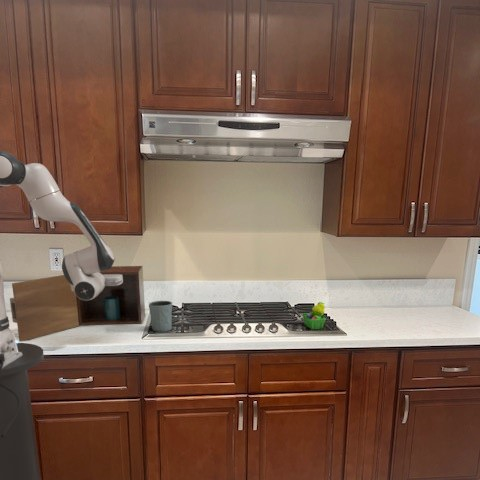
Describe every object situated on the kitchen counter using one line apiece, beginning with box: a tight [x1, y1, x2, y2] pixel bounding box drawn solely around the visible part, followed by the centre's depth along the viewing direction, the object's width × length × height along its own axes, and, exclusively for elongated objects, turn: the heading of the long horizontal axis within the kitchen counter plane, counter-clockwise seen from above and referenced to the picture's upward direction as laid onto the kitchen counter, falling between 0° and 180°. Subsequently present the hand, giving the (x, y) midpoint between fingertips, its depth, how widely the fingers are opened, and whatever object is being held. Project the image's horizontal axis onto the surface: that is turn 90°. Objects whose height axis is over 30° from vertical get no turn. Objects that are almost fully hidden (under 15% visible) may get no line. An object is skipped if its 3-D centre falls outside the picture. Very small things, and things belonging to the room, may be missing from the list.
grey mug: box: [148, 300, 173, 333], centre depth 206 cm, size 10×10×12 cm
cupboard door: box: [9, 274, 80, 343], centre depth 200 cm, size 7×28×24 cm, turn 146°
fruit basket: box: [301, 301, 327, 331], centre depth 210 cm, size 11×9×11 cm
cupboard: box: [76, 265, 146, 327], centre depth 220 cm, size 18×28×24 cm, turn 96°
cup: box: [104, 296, 120, 320], centre depth 220 cm, size 7×7×10 cm
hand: (100, 276), depth 194 cm, fingers open, 8 cm apart
